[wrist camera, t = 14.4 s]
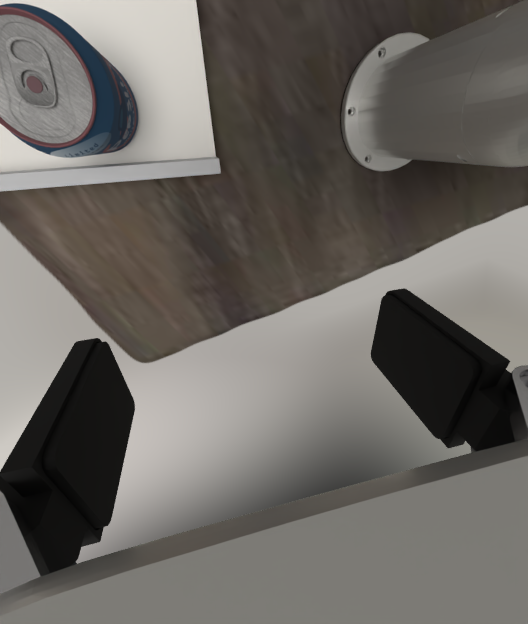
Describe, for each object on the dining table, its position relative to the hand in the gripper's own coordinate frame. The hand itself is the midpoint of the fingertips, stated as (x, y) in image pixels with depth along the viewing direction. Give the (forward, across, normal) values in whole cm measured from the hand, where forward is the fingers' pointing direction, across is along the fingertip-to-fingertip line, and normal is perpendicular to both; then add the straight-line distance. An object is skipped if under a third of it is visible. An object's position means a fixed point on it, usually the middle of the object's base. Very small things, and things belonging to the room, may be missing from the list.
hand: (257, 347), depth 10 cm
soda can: (+26, +9, -9) cm, 28 cm away
